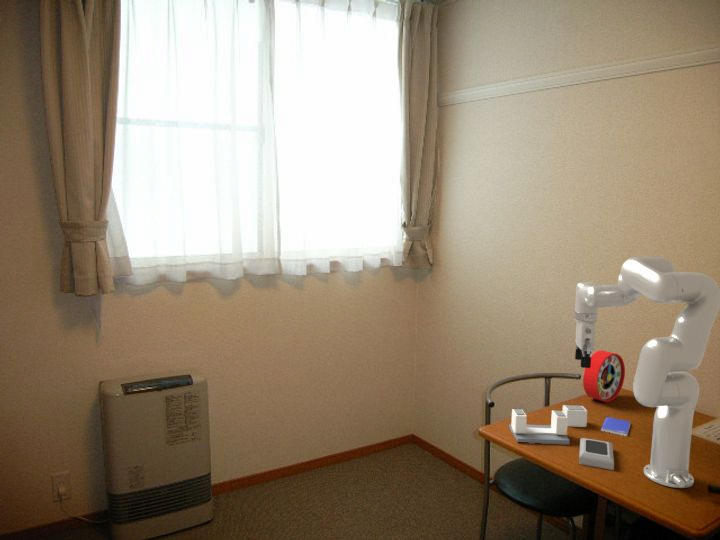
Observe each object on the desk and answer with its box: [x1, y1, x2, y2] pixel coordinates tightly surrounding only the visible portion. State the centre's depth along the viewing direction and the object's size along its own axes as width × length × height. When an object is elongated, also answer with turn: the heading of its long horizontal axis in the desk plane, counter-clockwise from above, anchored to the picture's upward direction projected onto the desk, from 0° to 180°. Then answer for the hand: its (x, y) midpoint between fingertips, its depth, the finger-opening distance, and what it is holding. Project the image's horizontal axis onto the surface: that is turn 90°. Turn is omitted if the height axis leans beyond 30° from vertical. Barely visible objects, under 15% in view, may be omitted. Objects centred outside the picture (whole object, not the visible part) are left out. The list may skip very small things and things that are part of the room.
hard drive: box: [600, 416, 631, 437], centre depth 190 cm, size 2×8×12 cm
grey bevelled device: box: [578, 437, 615, 471], centre depth 167 cm, size 10×4×15 cm
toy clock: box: [582, 349, 626, 403], centre depth 217 cm, size 20×6×20 cm, turn 124°
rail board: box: [508, 408, 571, 446], centre depth 181 cm, size 12×17×8 cm
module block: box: [562, 404, 588, 428], centre depth 193 cm, size 5×7×6 cm
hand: (582, 363), depth 192 cm, fingers open, 9 cm apart
